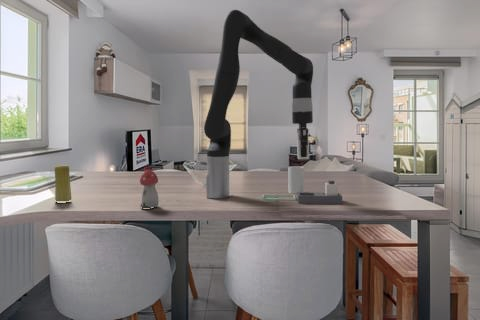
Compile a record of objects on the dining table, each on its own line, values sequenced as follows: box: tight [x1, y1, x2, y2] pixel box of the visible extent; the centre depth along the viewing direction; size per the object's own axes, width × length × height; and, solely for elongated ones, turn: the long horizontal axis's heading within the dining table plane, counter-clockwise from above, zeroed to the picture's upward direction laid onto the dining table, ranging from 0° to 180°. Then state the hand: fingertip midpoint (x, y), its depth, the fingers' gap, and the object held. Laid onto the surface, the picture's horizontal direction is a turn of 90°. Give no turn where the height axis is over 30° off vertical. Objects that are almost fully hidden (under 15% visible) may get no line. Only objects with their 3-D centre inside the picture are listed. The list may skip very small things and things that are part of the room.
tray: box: [261, 194, 297, 203], centre depth 157 cm, size 13×9×2 cm
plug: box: [296, 139, 310, 160], centre depth 149 cm, size 4×4×8 cm
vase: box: [54, 165, 73, 201], centre depth 156 cm, size 6×6×14 cm
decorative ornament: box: [139, 166, 160, 208], centre depth 145 cm, size 9×6×15 cm
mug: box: [287, 165, 305, 195], centre depth 171 cm, size 10×7×12 cm, turn 167°
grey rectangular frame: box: [296, 192, 343, 205], centre depth 149 cm, size 16×7×4 cm, turn 86°
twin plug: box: [324, 180, 339, 196], centre depth 148 cm, size 4×4×8 cm
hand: (303, 156), depth 149 cm, fingers closed on plug, 4 cm apart
